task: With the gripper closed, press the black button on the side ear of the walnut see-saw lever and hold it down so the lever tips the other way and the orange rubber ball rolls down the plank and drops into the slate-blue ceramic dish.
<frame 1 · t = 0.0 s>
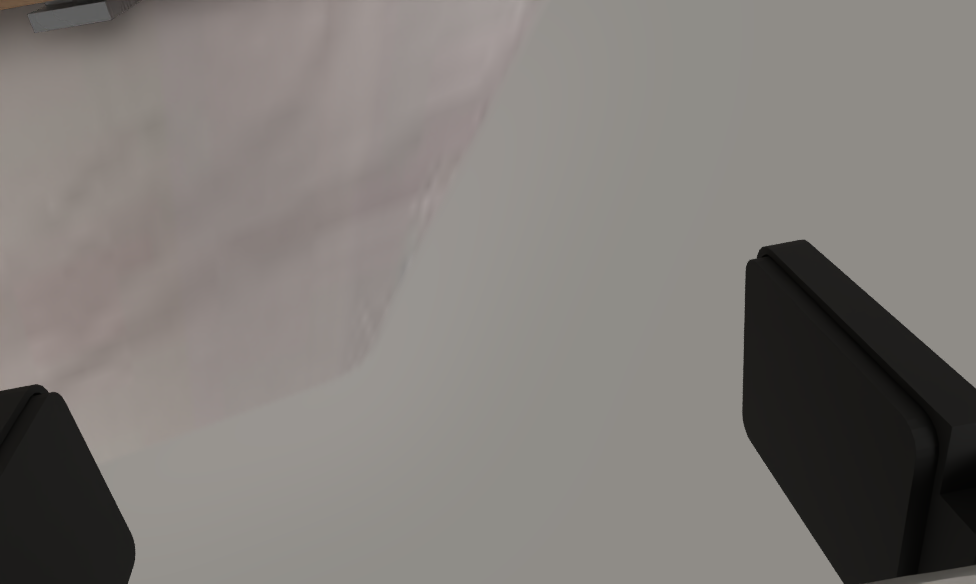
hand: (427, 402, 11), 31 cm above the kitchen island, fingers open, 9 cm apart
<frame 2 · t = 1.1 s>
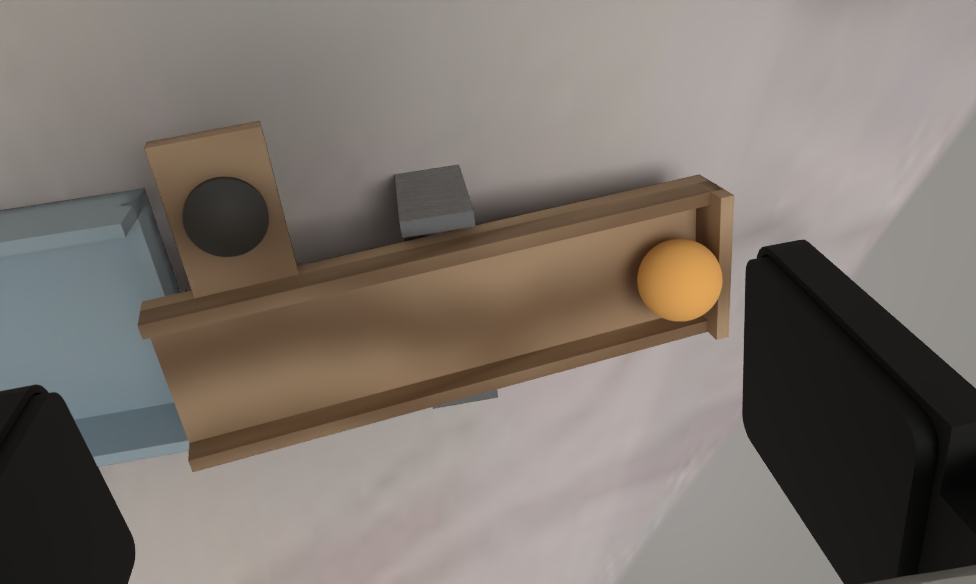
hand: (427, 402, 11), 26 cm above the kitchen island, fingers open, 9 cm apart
grey arch block: (440, 259, 39), on the kitchen island
dish: (37, 324, 38), on the kitchen island
lever: (447, 253, 33), point 6 cm above the kitchen island, hinge at -9.0°, touching ball
ball: (679, 280, 35), point 6 cm above the kitchen island, tilted 12°, touching lever
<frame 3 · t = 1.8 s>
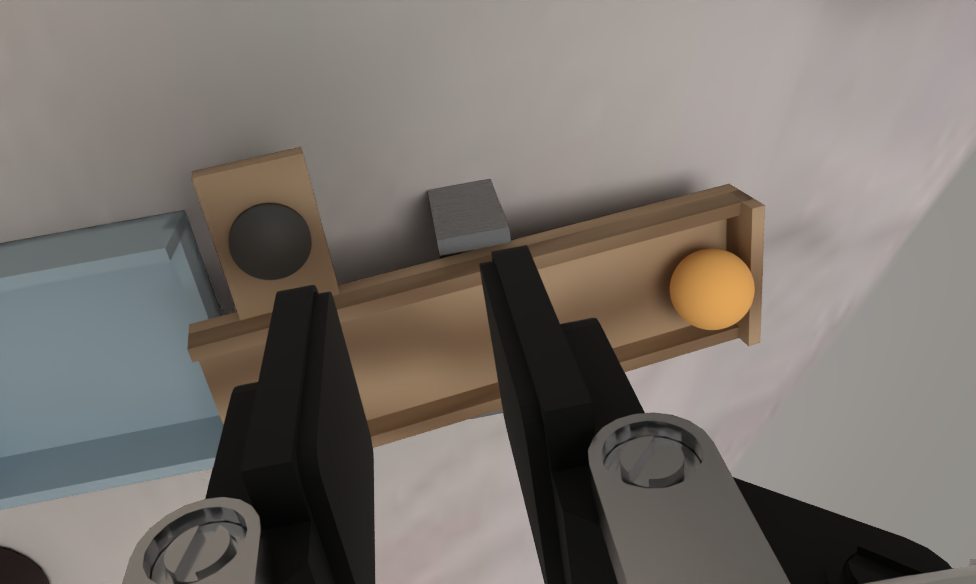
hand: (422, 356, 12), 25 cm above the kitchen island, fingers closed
grey arch block: (473, 271, 40), on the kitchen island
dish: (83, 344, 39), on the kitchen island
lever: (484, 269, 34), point 6 cm above the kitchen island, hinge at -9.0°, touching ball
ball: (711, 289, 35), point 6 cm above the kitchen island, tilted 12°, touching lever
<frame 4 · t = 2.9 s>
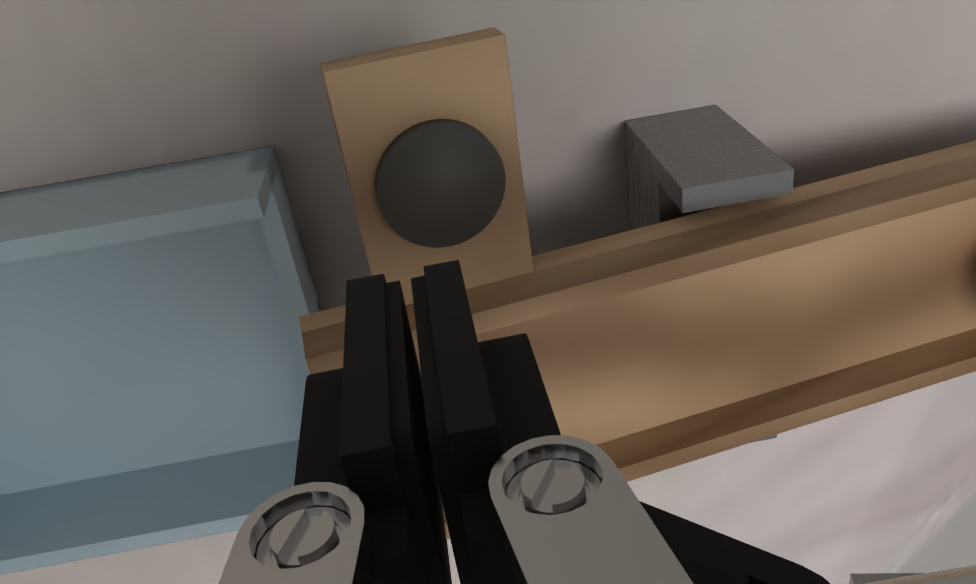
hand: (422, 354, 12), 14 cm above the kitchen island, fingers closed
grey arch block: (672, 240, 28), on the kitchen island
dish: (122, 339, 27), on the kitchen island
lever: (744, 234, 22), point 6 cm above the kitchen island, hinge at -9.0°, touching ball
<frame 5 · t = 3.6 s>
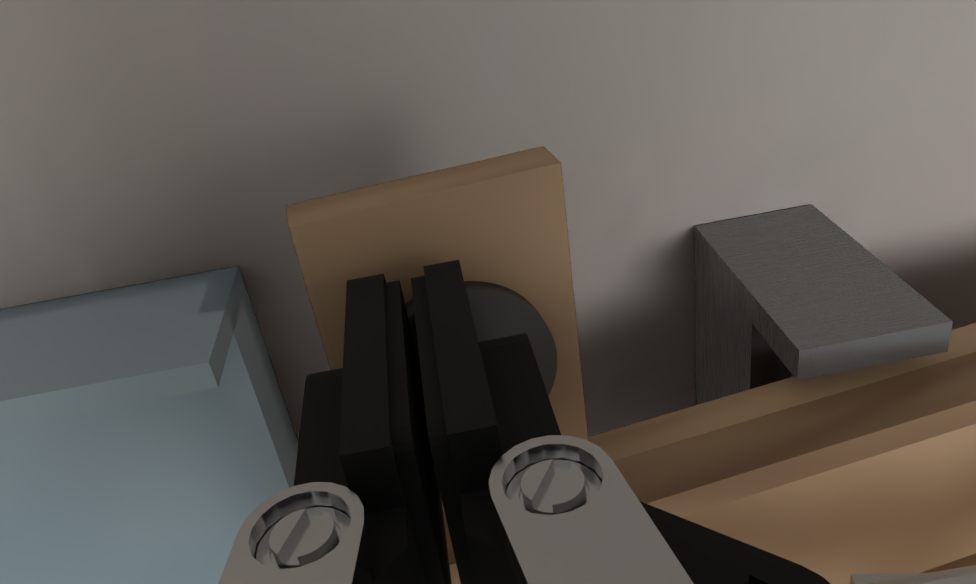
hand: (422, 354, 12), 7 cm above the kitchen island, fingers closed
grey arch block: (748, 366, 22), on the kitchen island
dish: (49, 500, 21), on the kitchen island
lever: (876, 404, 16), point 6 cm above the kitchen island, hinge at -7.8°, touching ball, gripper
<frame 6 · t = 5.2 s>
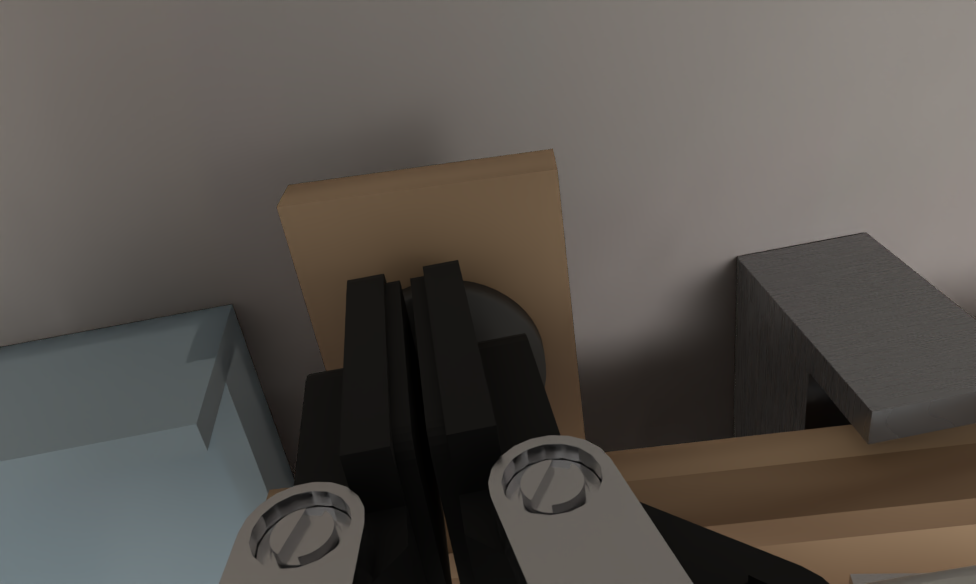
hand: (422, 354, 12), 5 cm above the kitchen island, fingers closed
grey arch block: (791, 406, 20), on the kitchen island
dish: (26, 556, 20), on the kitchen island
lever: (935, 472, 14), point 6 cm above the kitchen island, hinge at 6.8°, touching gripper
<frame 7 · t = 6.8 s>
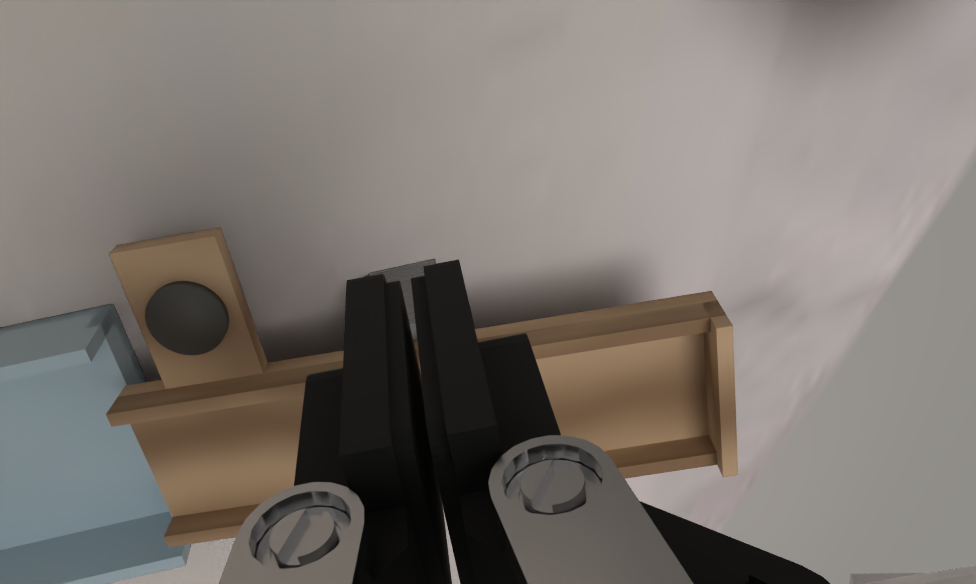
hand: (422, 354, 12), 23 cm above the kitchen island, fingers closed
grey arch block: (423, 353, 38), on the kitchen island
dish: (12, 444, 37), on the kitchen island
lever: (414, 361, 32), point 6 cm above the kitchen island, hinge at 6.8°
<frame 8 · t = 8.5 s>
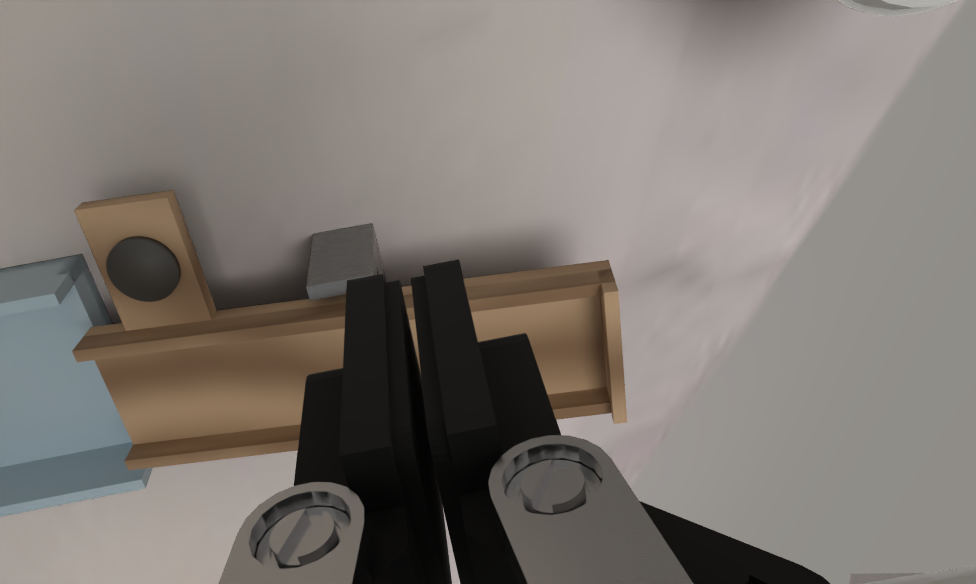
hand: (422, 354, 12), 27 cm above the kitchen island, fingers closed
grey arch block: (363, 307, 42), on the kitchen island
lever: (344, 314, 36), point 6 cm above the kitchen island, hinge at 6.8°
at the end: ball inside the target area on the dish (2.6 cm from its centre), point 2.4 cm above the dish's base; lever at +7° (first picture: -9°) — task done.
